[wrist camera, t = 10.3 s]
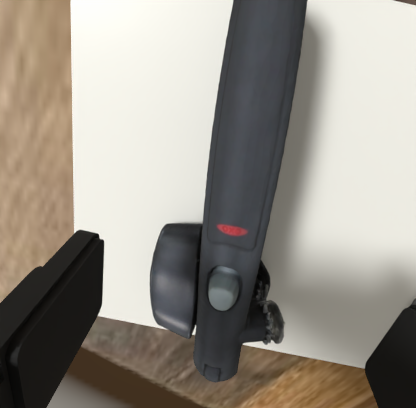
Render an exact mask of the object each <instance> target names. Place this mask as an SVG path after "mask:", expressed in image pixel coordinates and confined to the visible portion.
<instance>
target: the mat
mask: <svg viewBox="0 0 416 408" xmlns="http://www.w3.org/2000/svg"><path fill="white" fill-rule="evenodd" d="M232 6H233V0H71V53H72V118H73V184H74V233H75V232H76V231H78V230H85V231H89V232H94V233H98V234H99V238H100V239H103V240H104V269H103V297H102V306H101V309H100V312H99V314H98V316H101V317H106V318H111V319H117V320H122V321H127V322H132V323H137V324H142V325H147V326H152V327H157V328H162V329H166V328H164V327H162V326H160V325H158V324H157V323H156V321H155V319H154V317H153V313H152V307H151V300H150V270H151V264H152V258H153V253H154V250H155V246H156V243H157V240H158V237H159V235H160V232H161V230H162V228H163V227H164V226H165V225H166V224H169V223H190V224H203V213H204V201H205V189H206V180H207V171H208V161H209V151H210V144H211V135H212V127H213V121H214V113H215V106H216V100H217V93H218V85H219V81H220V73H221V68H222V61H223V55H224V49H225V44H226V37H227V33H228V27H229V21H230V16H231V11H232ZM261 260H262V262H263V264H264V265H265V267H266V269H267V271H268V273H269V275H270V289H269V292H268V296H267V298H266V300H272V301H274V302H275V303H276V304H277V305H278V307H279V309H280V312H281V314H282V317H283V320H284V322H285V325H284V338H283V340H282V342H281V343H280V344H276V343H274V341H272V340H271V343H268V344H267V345H265V344H264V343H263V341H259V342H249V343H243V345H248V346H253V347H258V348H263V349H268V350H273V351H278V352H283V353H288V354H293V355H298V356H303V357H308V358H314V359H319V360H324V361H329V362H334V363H339V364H344V365H349V366H354V367H359V368H364V369H365V364H366V362H367V360H368V359H369V357H370V356H371V354H372V353H373V351H374V350H375V349H376V347H377V346H378V344H379V343H380V342H381V340H382V339H383V337H384V336H385V334H386V333H387V332H388V330H389V329H390V327H391V326H392V325H393V323H394V322H395V320H396V319H397V317H398V316H399V315H400V313H401V312H402V310H403V309H405V308H408V307H409V306H411V305H416V6H415V5H410V4H406V3H401V2H397V1H393V0H308V1H307V9H306V15H305V25H304V30H303V39H302V47H301V55H300V60H299V68H298V73H297V80H296V86H295V92H294V98H293V101H292V110H291V113H290V121H289V127H288V130H287V136H286V140H285V147H284V154H283V157H282V163H281V168H280V172H279V178H278V182H277V188H276V192H275V196H274V200H273V205H272V210H271V215H270V221H269V225H268V229H267V233H266V239H265V243H264V247H263V252H262V256H261ZM167 330H168V329H167ZM195 332H196V326H195V328H194V331H193V333H192V335H195Z"/></svg>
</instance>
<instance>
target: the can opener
mask: <svg viewBox="0 0 416 408" xmlns="http://www.w3.org/2000/svg"><path fill="white" fill-rule="evenodd" d="M307 1H308V0H233V6H232V11H231V16H230V21H229V27H228V33H227V37H226V44H225V49H224V55H223V61H222V68H221V73H220V81H219V85H218V93H217V100H216V106H215V113H214V121H213V127H212V135H211V144H210V151H209V161H208V171H207V180H206V189H205V201H204V213H203V224H190V223H169V224H166V225H165V226H164V227H163V228H162V230H161V232H160V235H159V237H158V240H157V243H156V246H155V250H154V253H153V258H152V264H151V270H150V300H151V307H152V313H153V317H154V319H155V321H156V323H157V324H158V325H160V326H162V327H164V328H166V329H168V330H170V331H172V332H174V333H176V334H178V335H180V336H182V337H185V338H187V339H189V338H191V336H192V333H193V331H194V328H195V326H196V332H195V346H194V352H193V354H194V355H193V359H194V364H195V366H196V368H197V370H198V371H199V373H200V374H201V375H203V376H205V378H206V379H207V380H209V381H212V382H219V381H225V380H228V379H230V378H232V377H233V376H234V375H235V374H236V373H237V369H238V363H239V357H240V351H241V346H242V344H243V343H249V342H259V341H263V343H264V344H265V345H267V344H268V343H271V340H272V341H274V343H276V344H280V343H281V342H282V340H283V338H284V325H285V322H284V320H283V317H282V314H281V312H280V309H279V307H278V305H277V304H276V303H275V302H274V301H272V300H266V298H267V296H268V292H269V289H270V275H269V273H268V271H267V269H266V267H265V265H264V264H263V262H262V260H261V256H262V252H263V247H264V243H265V239H266V233H267V229H268V225H269V221H270V215H271V210H272V205H273V200H274V196H275V192H276V188H277V182H278V178H279V172H280V168H281V163H282V157H283V154H284V147H285V140H286V136H287V130H288V127H289V121H290V113H291V110H292V101H293V98H294V92H295V86H296V80H297V73H298V68H299V60H300V55H301V47H302V39H303V30H304V25H305V15H306V9H307Z"/></svg>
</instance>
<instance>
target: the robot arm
mask: <svg viewBox="0 0 416 408" xmlns="http://www.w3.org/2000/svg"><path fill="white" fill-rule="evenodd" d="M103 269H104V240H103V239H100V238H99V234H98V233H94V232H89V231H85V230H78V231H76V232H75V233H74V234H73V235H72V237H71V238H70V239H69V240H68V241H67V242H66V243H65V244H64V245H63V246H62V247H61V248H60V249H59V250H58V251H57V252H56V254H55V255H54V256H53V257H52V258H51V259H50V260H49V261H48V262H47V263H46V264H45V265H44V266H43V267H41V266H39V267H37V268H35V269H34V270H32V271H31V272H30V273H29V274H28V275H27V276H26V277H25V278H24V279H23V280H22V281H21V282H20V283H19V284H18V286H17V287H16V288H15V289H14V290H13V291H12V292H11V293H10V294H9V295H8V296H7V297H6V298H5V299H4V300H3V301H2V302H1V303H0V408H46V407H47V406H48V404H49V402H50V400H51V398H52V396H53V395H54V393H55V391H56V389H57V388H58V386H59V384H60V382H61V380H62V378H63V377H64V375H65V373H66V372H67V369H68V368H69V366H70V364H71V362H72V361H73V359H74V357H75V355H76V354H77V351H78V350H79V348H80V346H81V345H82V343H83V341H84V339H85V337H86V336H87V334H88V332H89V330H90V328H91V327H92V325H93V323H94V321H95V320H96V318H97V316H98V314H99V312H100V309H101V306H102V297H103ZM365 373H366V376H367V379H368V381H369V384H370V386H371V389H372V392H373V394H374V397H375V399H376V402H377V405H378V407H379V408H416V305H411V306H409V307H408V308H405V309H403V310H402V312H401V313H400V315H399V316H398V317H397V319H396V320H395V322H394V323H393V325H392V326H391V327H390V329H389V330H388V332H387V333H386V334H385V336H384V337H383V339H382V340H381V342H380V343H379V344H378V346H377V347H376V349H375V350H374V351H373V353H372V354H371V356H370V357H369V359H368V360H367V362H366V364H365Z"/></svg>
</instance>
